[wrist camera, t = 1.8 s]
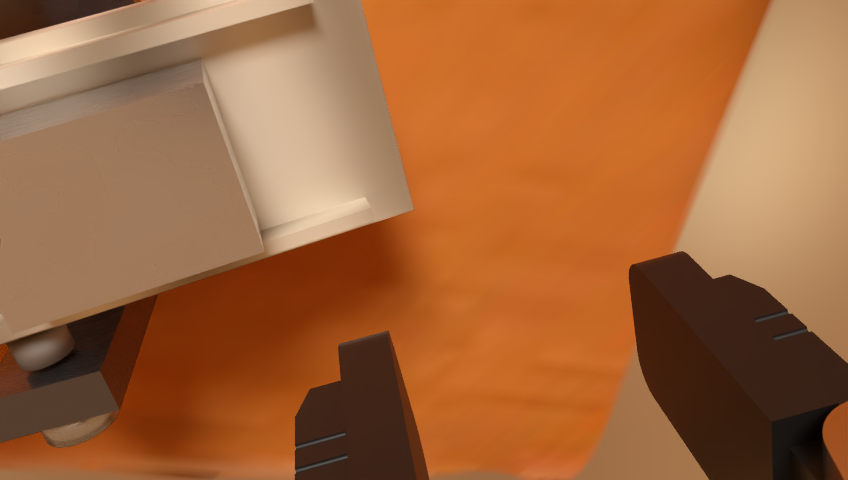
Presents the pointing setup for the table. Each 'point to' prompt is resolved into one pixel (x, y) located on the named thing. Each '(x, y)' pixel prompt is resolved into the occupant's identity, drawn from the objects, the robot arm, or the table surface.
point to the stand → (94, 335)
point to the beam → (236, 114)
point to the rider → (117, 195)
